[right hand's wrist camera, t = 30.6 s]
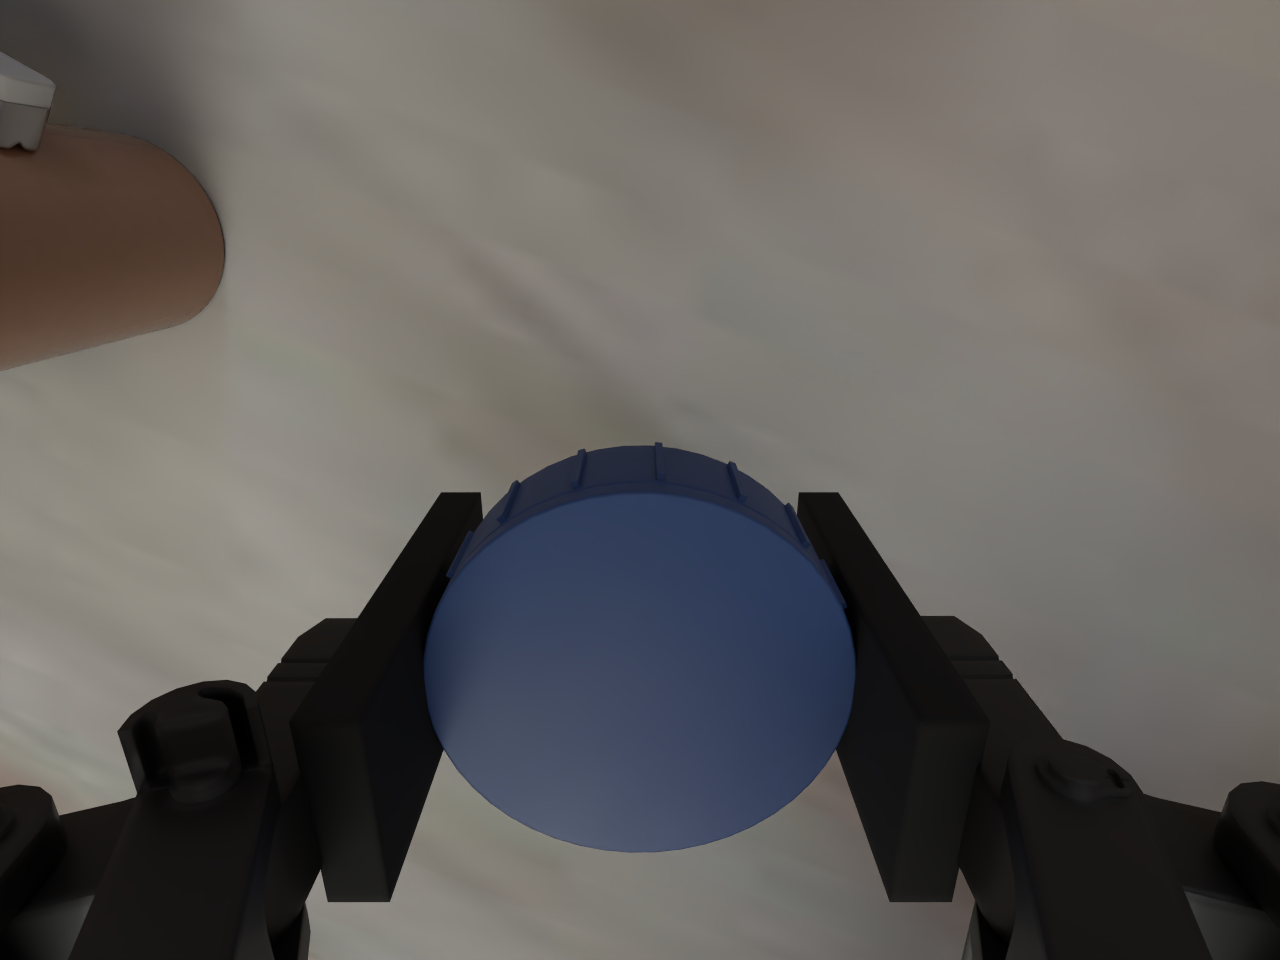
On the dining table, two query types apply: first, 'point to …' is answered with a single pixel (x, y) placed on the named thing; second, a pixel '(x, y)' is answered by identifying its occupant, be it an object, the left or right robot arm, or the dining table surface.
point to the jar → (99, 243)
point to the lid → (639, 652)
